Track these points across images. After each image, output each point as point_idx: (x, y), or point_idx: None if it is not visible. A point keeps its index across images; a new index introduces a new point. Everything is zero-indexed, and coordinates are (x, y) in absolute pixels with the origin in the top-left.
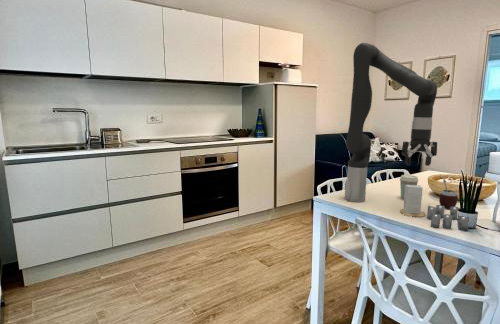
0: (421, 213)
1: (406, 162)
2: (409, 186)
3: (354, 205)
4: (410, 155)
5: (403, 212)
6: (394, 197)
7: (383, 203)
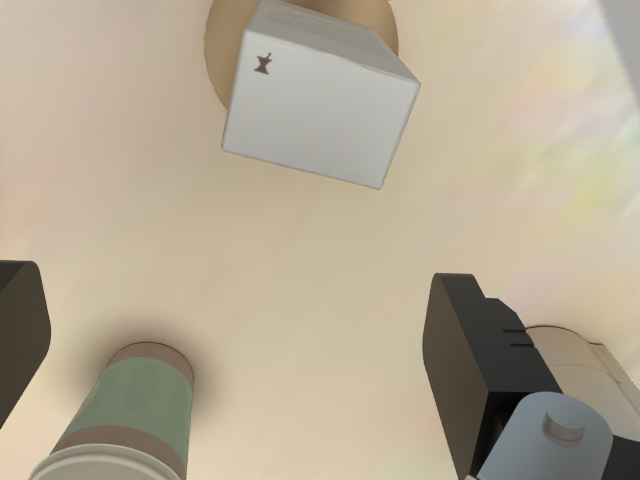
0: (240, 16)
1: (515, 335)
2: (393, 89)
3: (622, 265)
4: (534, 432)
5: None
6: (223, 414)
7: (381, 297)
